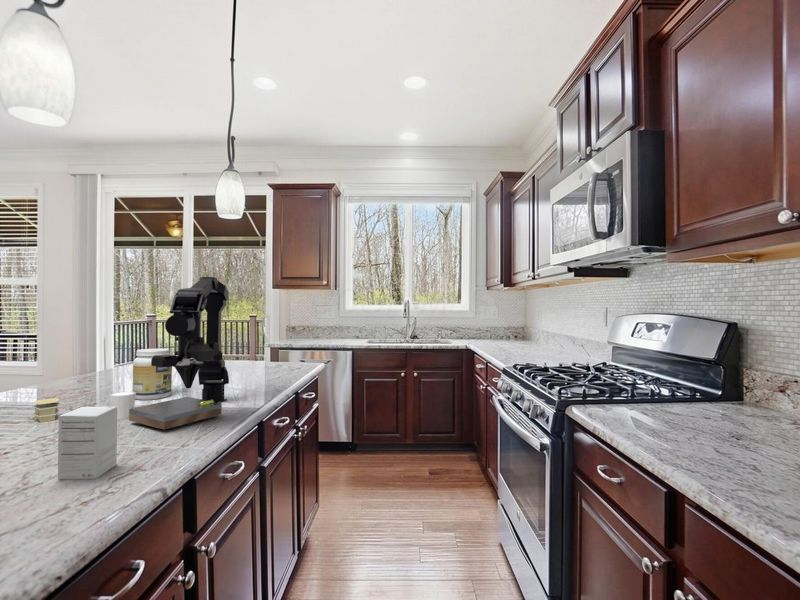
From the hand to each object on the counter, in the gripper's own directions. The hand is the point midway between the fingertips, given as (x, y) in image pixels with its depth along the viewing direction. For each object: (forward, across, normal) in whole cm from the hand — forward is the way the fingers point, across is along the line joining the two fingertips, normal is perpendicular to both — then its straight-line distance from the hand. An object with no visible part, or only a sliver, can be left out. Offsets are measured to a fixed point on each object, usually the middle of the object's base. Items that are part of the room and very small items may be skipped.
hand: (188, 388), depth 121 cm
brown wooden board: (+10, 0, +5) cm, 11 cm away
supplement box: (+10, -32, -14) cm, 36 cm away
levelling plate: (+7, 0, +5) cm, 9 cm away
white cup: (+10, -6, +22) cm, 25 cm away
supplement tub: (+10, +14, +40) cm, 44 cm away
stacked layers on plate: (+11, -18, +38) cm, 43 cm away
